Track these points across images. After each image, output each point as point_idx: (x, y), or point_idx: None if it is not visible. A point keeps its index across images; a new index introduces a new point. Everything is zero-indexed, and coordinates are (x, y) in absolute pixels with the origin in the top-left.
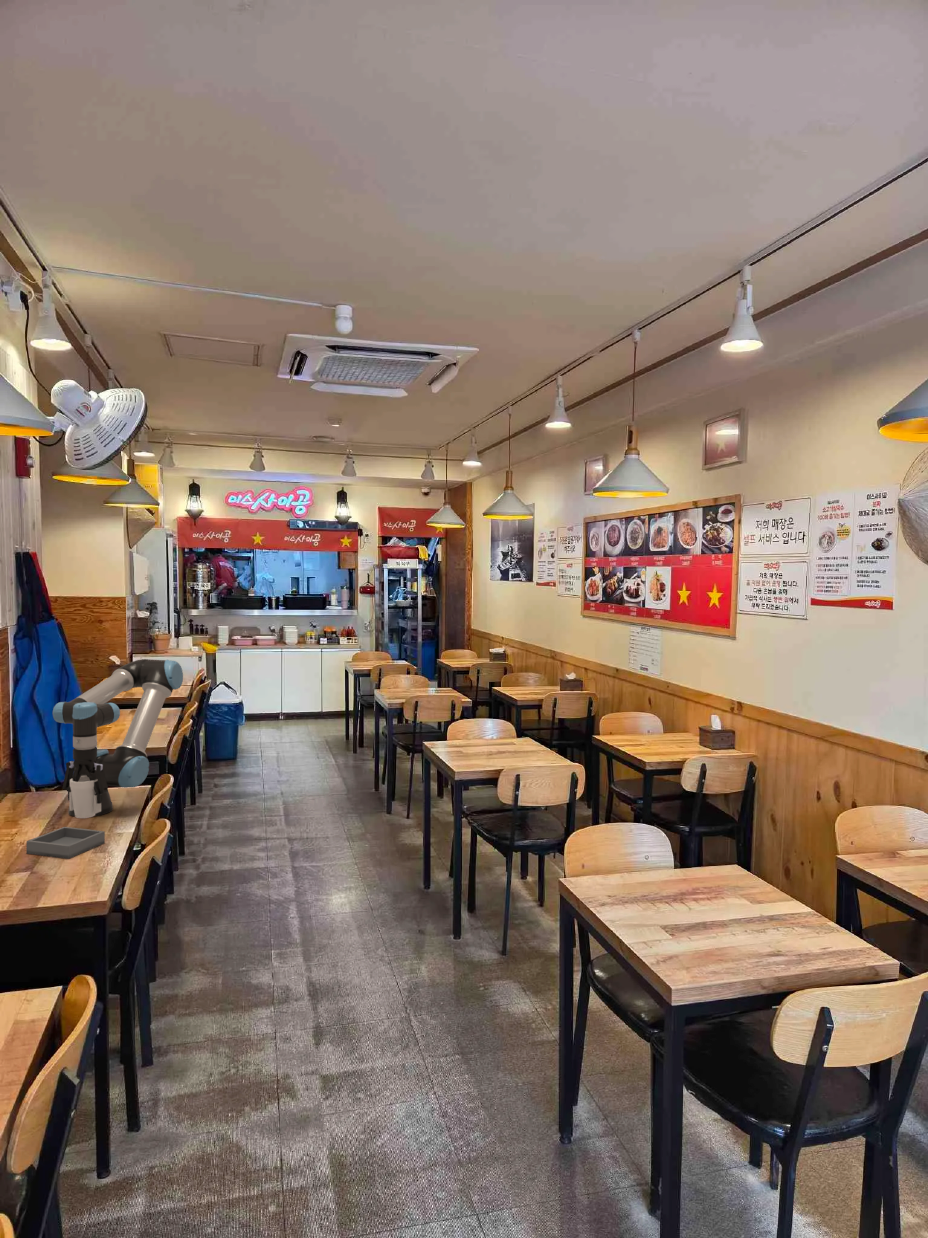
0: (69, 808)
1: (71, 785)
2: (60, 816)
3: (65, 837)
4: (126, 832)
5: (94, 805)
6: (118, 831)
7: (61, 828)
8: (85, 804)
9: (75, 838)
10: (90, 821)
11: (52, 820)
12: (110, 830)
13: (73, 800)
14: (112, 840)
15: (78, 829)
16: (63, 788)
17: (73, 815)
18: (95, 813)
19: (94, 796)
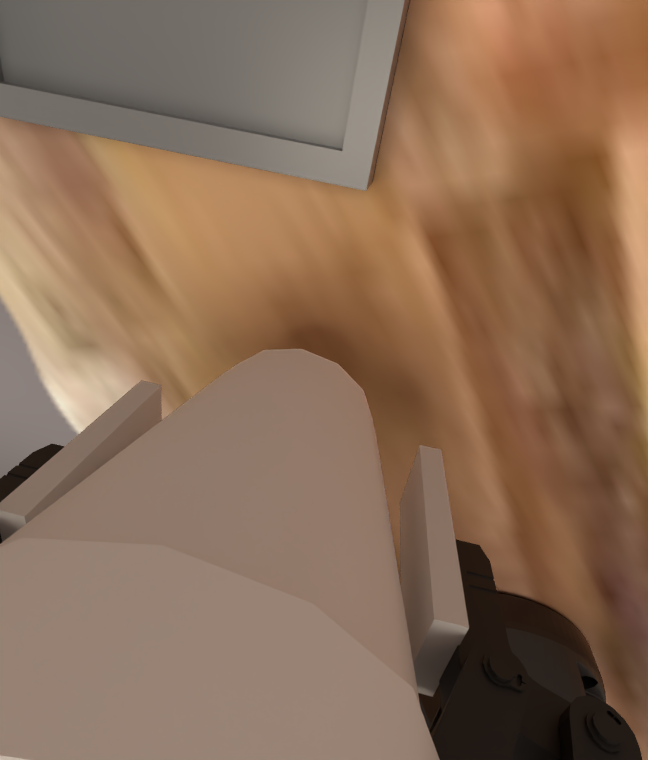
0: (443, 464)
1: (284, 677)
2: (618, 606)
3: (329, 125)
4: (62, 364)
5: (105, 425)
6: (118, 377)
7: (361, 120)
8: (178, 412)
9: (230, 113)
10: (392, 532)
11: (643, 547)
12: (176, 392)
13: (331, 451)
14: (13, 193)
15: (177, 119)
16: (607, 719)
17: (536, 606)
18: (142, 381)
19: (29, 498)
